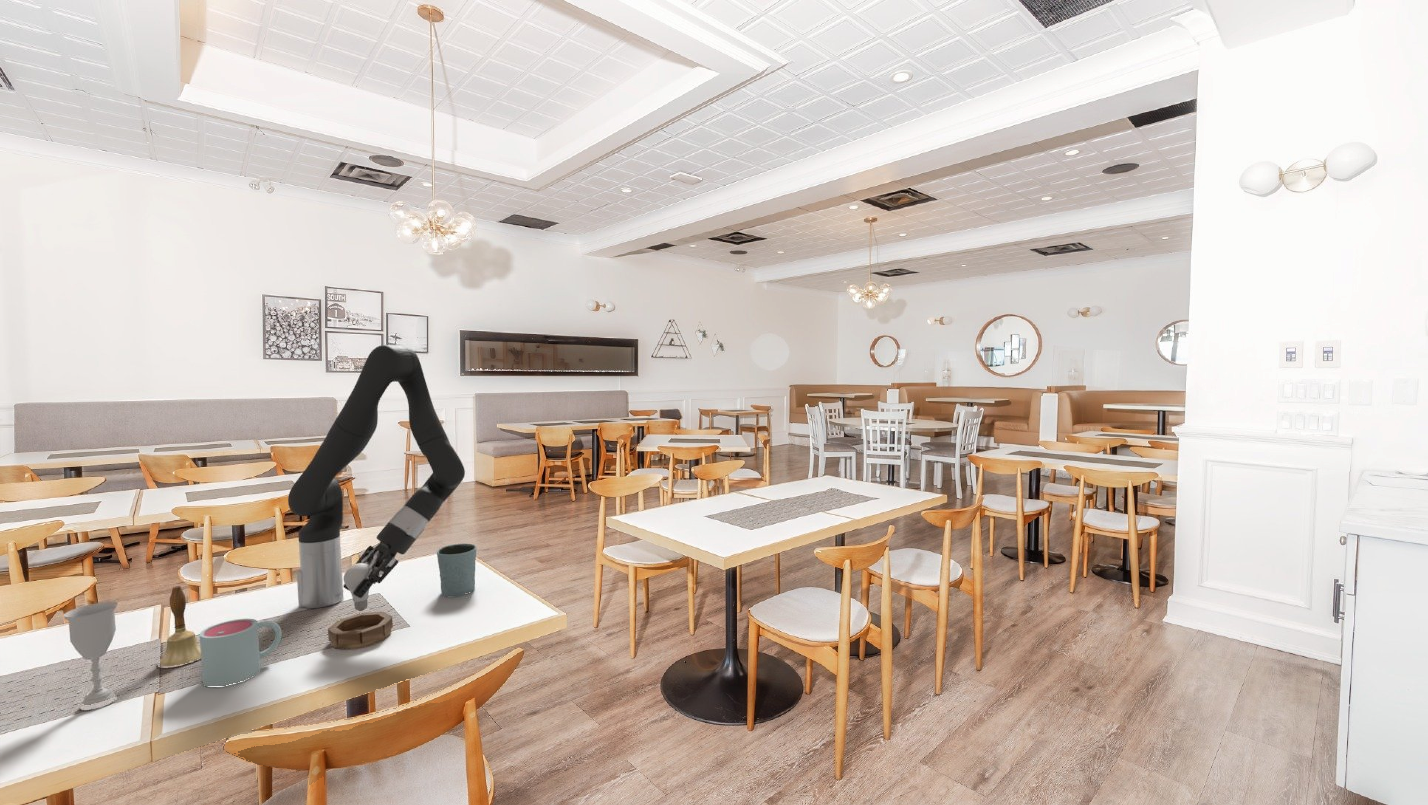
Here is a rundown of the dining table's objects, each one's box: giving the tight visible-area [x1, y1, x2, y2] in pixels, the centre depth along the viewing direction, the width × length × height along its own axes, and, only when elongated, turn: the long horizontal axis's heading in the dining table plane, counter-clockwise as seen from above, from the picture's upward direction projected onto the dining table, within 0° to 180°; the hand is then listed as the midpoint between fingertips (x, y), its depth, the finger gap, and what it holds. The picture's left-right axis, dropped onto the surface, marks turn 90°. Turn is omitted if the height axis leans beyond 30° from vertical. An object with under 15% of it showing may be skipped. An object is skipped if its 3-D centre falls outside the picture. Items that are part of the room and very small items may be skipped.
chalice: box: [63, 601, 118, 705], centre depth 114 cm, size 7×7×18 cm
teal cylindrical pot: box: [436, 543, 477, 597], centre depth 169 cm, size 10×10×12 cm
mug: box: [199, 618, 283, 687], centre depth 126 cm, size 14×9×10 cm
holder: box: [327, 611, 394, 651], centre depth 141 cm, size 12×12×4 cm
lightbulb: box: [343, 563, 371, 612], centre depth 140 cm, size 6×6×11 cm
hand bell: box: [159, 585, 201, 666], centre depth 131 cm, size 8×8×16 cm
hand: (351, 592), depth 139 cm, fingers closed on lightbulb, 6 cm apart
